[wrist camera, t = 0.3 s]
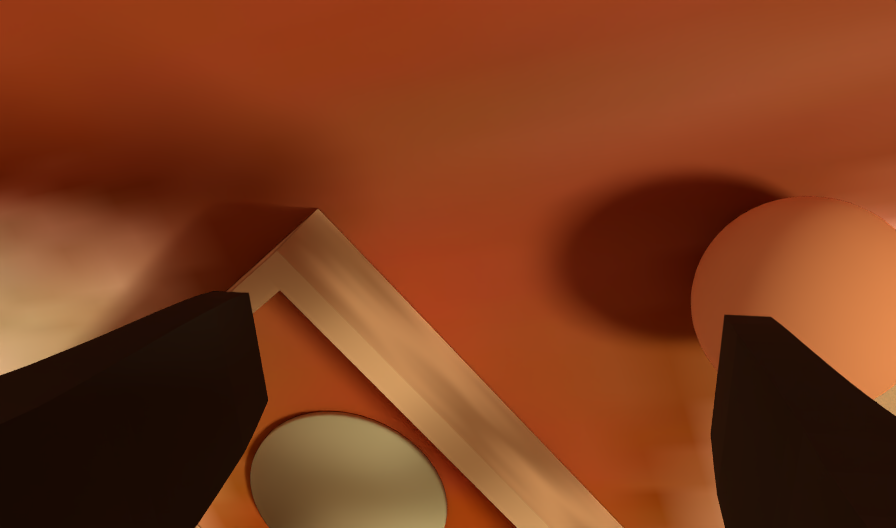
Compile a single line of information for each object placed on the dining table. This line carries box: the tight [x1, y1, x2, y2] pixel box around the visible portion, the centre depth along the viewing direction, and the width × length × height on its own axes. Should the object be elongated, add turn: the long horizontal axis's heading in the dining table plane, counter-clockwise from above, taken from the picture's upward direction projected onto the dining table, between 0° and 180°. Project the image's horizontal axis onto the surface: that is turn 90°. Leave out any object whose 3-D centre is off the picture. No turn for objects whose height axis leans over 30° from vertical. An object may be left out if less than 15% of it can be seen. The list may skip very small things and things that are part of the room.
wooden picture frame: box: [195, 209, 623, 528], centre depth 25 cm, size 16×14×3 cm
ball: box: [691, 196, 896, 399], centre depth 17 cm, size 5×5×5 cm
